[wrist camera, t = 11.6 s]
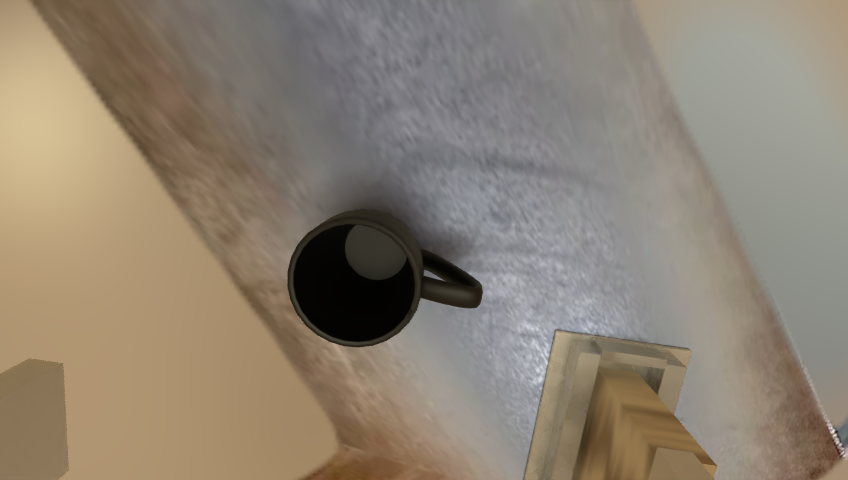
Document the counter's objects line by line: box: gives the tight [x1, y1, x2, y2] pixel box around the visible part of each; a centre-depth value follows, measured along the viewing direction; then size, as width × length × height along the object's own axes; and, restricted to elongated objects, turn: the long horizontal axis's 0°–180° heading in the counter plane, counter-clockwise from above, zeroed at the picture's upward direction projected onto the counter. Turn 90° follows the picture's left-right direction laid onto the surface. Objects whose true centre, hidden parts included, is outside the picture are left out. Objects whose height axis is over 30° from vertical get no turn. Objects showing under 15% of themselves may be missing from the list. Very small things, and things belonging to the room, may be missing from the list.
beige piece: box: [524, 330, 692, 480], centre depth 37 cm, size 15×11×3 cm
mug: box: [288, 209, 483, 347], centre depth 32 cm, size 8×12×10 cm
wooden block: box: [573, 367, 717, 480], centre depth 33 cm, size 10×4×11 cm, turn 172°
